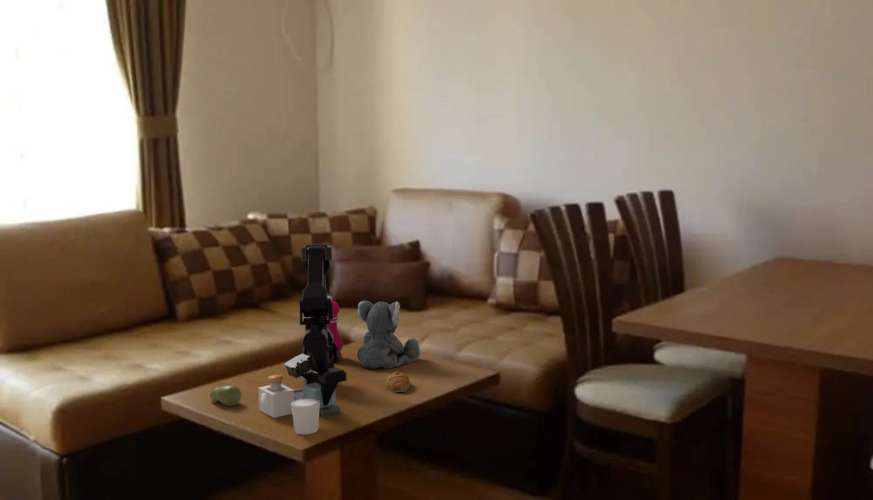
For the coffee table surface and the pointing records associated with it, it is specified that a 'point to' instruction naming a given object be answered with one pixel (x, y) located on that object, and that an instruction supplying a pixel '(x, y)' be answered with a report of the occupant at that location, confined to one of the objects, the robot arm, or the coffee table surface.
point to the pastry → (397, 382)
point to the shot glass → (305, 415)
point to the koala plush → (384, 337)
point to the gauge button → (275, 382)
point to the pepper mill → (335, 328)
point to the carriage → (317, 394)
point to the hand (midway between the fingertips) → (319, 402)
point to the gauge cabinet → (275, 401)
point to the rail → (322, 411)
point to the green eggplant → (226, 395)
